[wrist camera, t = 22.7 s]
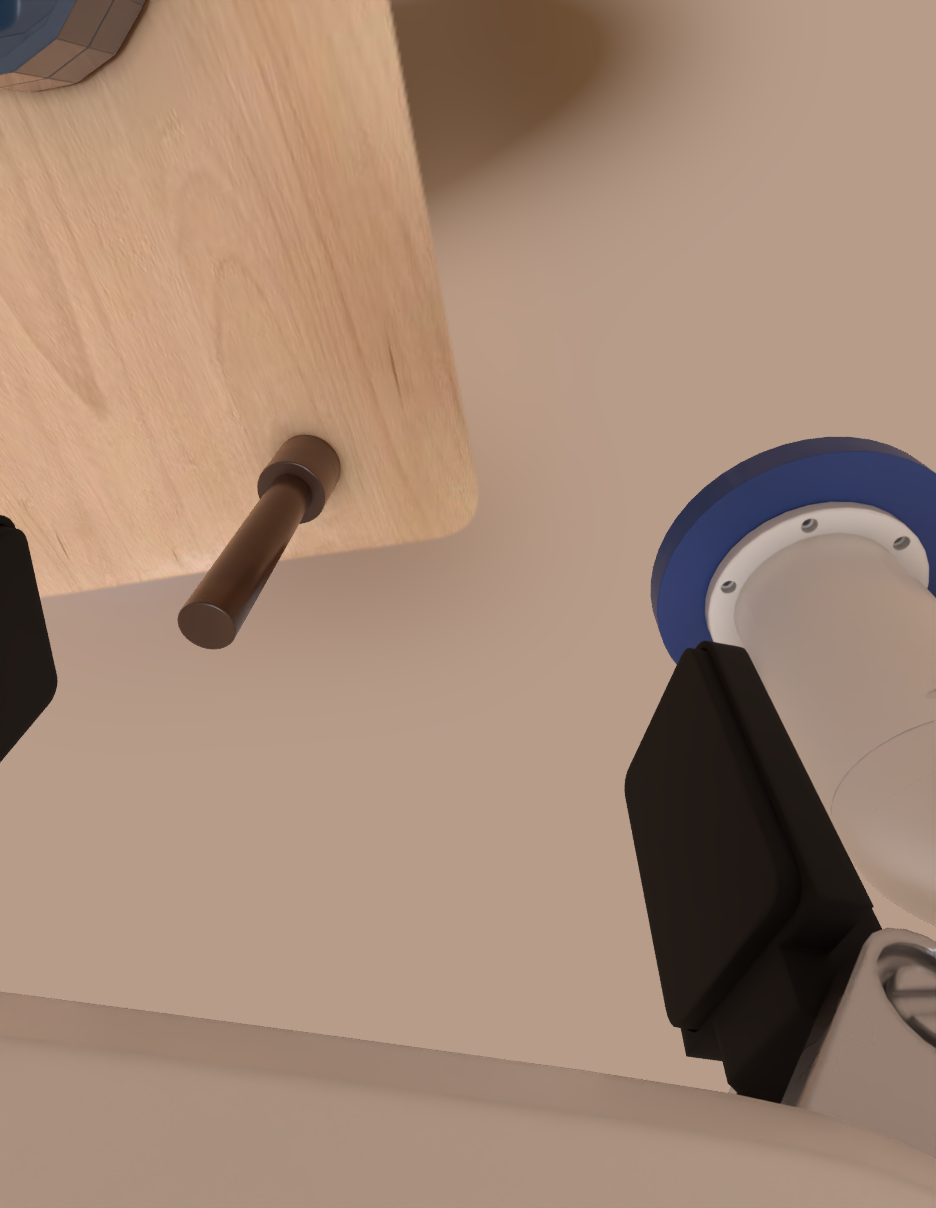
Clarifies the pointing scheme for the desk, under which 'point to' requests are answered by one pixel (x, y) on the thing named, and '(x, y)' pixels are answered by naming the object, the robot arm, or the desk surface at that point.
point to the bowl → (59, 39)
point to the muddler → (260, 540)
